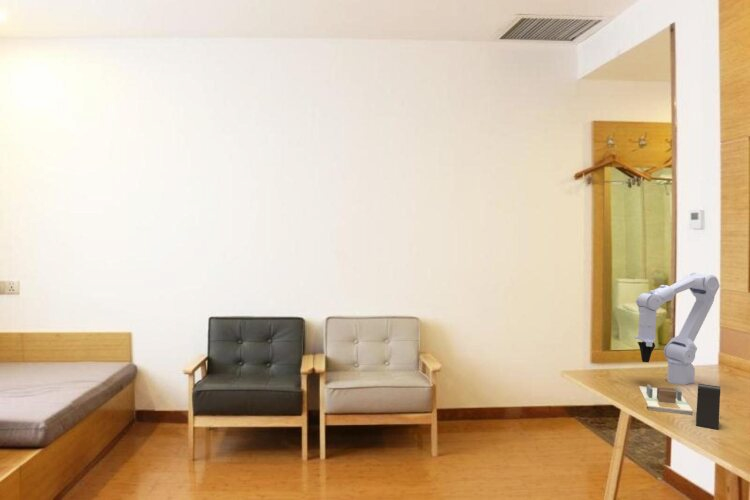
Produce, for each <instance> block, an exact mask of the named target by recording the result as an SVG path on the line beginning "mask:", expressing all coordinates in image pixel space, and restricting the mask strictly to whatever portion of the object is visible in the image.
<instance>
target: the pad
mask: <svg viewBox="0 0 750 500" xmlns="http://www.w3.org/2000/svg"><path fill="white" fill-rule="evenodd" d="M644 400H645V402H646V401H656V402H658V403H660V402H659V401H658V399H653V398H644ZM677 404H683V405H689V404H688V402H687V401H686V402H681V401H676V404H675V405H677Z"/></svg>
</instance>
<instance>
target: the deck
mask: <svg viewBox="0 0 750 500" xmlns="http://www.w3.org/2000/svg"><path fill="white" fill-rule="evenodd" d="M638 387H639V389H640V391H641V393H642V395H643V397H644V399H645V398H653V399H657V387H652V386H651V384H646V386H642V385H641V386H640V385H639V386H638ZM674 389H675V391H676V401H681V402H687V401H686V399H685V397H684V396H683V395H682V393H683V392H682V390H680V388H679V387H678V386H677V387H676V386H675V387H674ZM645 402H646V404H647V406H646V409H647V410H648V411H652V412H660V413H670V414H678V415H686V416H693V411H694V410H693V409H692V407H691V406H690V405H689V404H688V405H683V404H676V405H677V406H678V408H674V407H670V408H669V407H667V406H660V404H659V403H662V404H666V403H665V402H656V401H646V400H645ZM668 404H670V405H671V404H672V405H675V404H674V403H668Z"/></svg>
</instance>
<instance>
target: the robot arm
mask: <svg viewBox="0 0 750 500" xmlns="http://www.w3.org/2000/svg"><path fill="white" fill-rule="evenodd" d="M719 289H720V283H719V280H718V277H717V276H716V275H713V274H703V273H696V272H691V273H689V274H686V275H685V276H684V278H682V279H680V280H678V281H676V282H675V283H673V284H671V285H670V286H669V285H667V284H661V285H659V287H657V288H655V289H651V290H649V292H643V293H641V294H639V295H638V297H637V299H636V300H635V303H636V305H637V307H638V309H637V310H638V312H639V315H638V334H637V335H635V336H634V339H636V340H639V341H637V344H638V347H639V350H640V358H641V362H642V363H649V362H650V360H651V357H652V356H651V355H652V353H653V351H654V349H655V347H656V344H655V342H656V340H657V339H656V331H657V329H656V328H657V326H656V325H657V312H658V310H659V309H660V307H661V305H664V304H665V303H667V302H669V301H671V300H673V299H674V297H675V295H677V294H679V293H682V292H685V291H687V290H689V291H690V292H691V294H692V296H694V298H695V302H694V303H693V306H692V308H691V310H690V312H689V314H688V315H687V318H686V319H685V321H684V324H683V326H682V328H681V330H680V332H679V334H678V335H677V336H674V337H672V338H671V339H670V341H668V343H667V344H666V345H665V346H664V348H663V355H664V356H665V358H666V361H667V377H666V381H667V382H668V383H671V384H673V385H682V386H685V385H686V386H687V385H689V384H694V383H695V375H696V370H695V367H694V365H693V364H692V363H693V362H694V361H695V358H696V352H697V350H698V348H697V345H696V344H695V340H696V338H697V335H698V334H699V331H701V328H702V326H703V324H704V322H705V319H706V318H707V315H708V313H710V310H711V308H712V306H713V304H714V301H715V296H716V295H717V293H718V291H719Z"/></svg>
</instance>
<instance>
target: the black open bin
mask: <svg viewBox="0 0 750 500" xmlns="http://www.w3.org/2000/svg"><path fill="white" fill-rule="evenodd" d="M696 399H697V400H696V413H695V414H696V416H695V426H696V427H701V428H707V429H713V430H719V428H720V409H721V408H720V406H721V404H720V403H721V386H719V385H718V386H717V385H711V384H703V383H698V384H697V397H696Z"/></svg>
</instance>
